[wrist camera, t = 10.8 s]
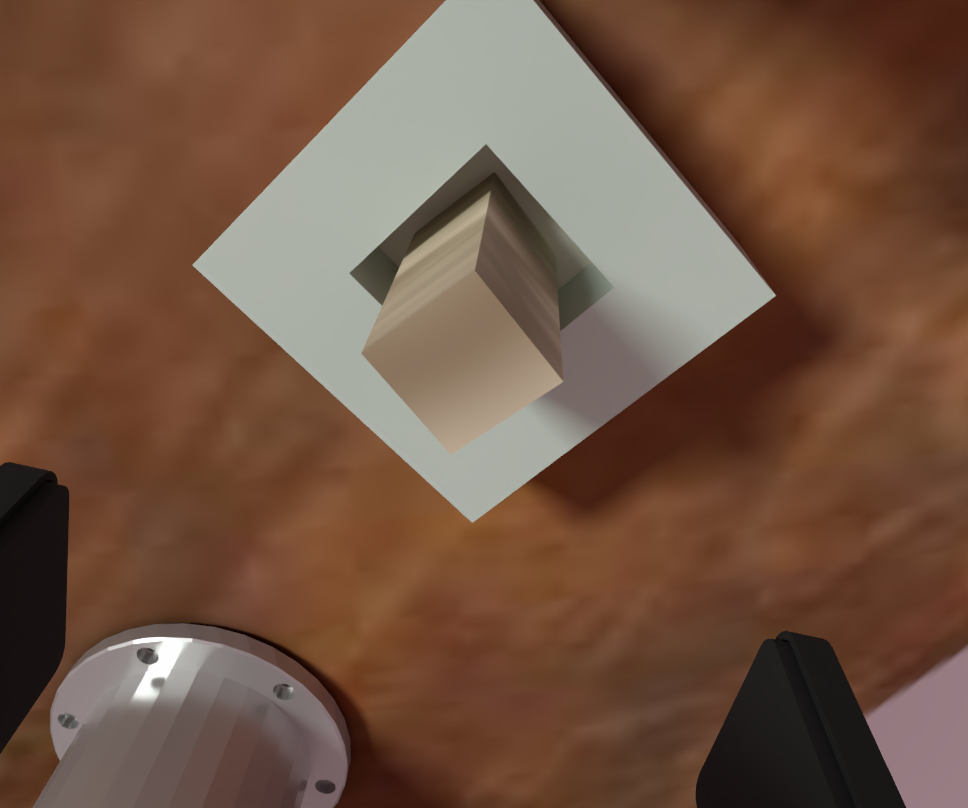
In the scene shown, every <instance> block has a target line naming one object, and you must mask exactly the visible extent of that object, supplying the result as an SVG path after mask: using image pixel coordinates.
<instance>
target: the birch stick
mask: <svg viewBox="0 0 968 808" xmlns="http://www.w3.org/2000/svg"><path fill="white" fill-rule="evenodd" d="M361 354H362V355H363V356H364V357H365V358H366V359H367V361H368V362H369V363H370V364H371V365H372V366H373V367H374V368H375V370H376V371H377V372H378V373H379V374H380V375H381V376H382V378H383V379H384V380H385V381H386V382H387V383H388V384H389V385H390V387H391V388H392V389H393V390H394V391H395V392H396V393H397V394H398V396H399V397H400V398H401V399H402V400H403V401H404V402H405V403H406V405H407V406H408V407H409V408H410V409H411V410H412V411H413V413H414V414H415V415H416V416H417V417H418V418H419V419H420V420H421V422H422V423H423V424H424V425H425V426H426V427H427V428H428V429H429V431H430V432H431V433H432V434H433V435H434V436H435V437H436V439H437V440H438V441H439V442H440V443H441V444H442V445H443V446H444V448H445V449H446V450H447V451H448V452H449V453H450V454H451V455H452V454H453V453H455V452H456V451H458V450H459V449H461V448H462V447H464V446H465V445H467V444H468V443H470V442H471V441H473V440H475V439H476V438H478V437H479V436H481V435H482V434H484V433H485V432H487V431H488V430H490V429H491V428H493V427H495V426H496V425H498V424H499V423H501V422H502V421H504V420H505V419H507V418H508V417H510V416H511V415H513V414H515V413H516V412H518V411H519V410H521V409H522V408H524V407H525V406H527V405H528V404H530V403H531V402H533V401H535V400H536V399H538V398H539V397H541V396H542V395H544V394H545V393H547V392H548V391H550V390H551V389H553V388H555V387H556V386H558V385H559V384H561V383H562V382H563V369H562V353H561V337H560V321H559V305H558V290H557V274H556V258H555V252H554V251H553V249H552V248H551V247H550V245H549V244H548V243H547V241H546V240H545V239H544V237H543V236H542V235H541V233H540V232H539V231H538V229H537V228H536V227H535V225H534V224H533V223H532V221H531V220H530V219H529V217H528V216H527V215H526V213H525V212H524V211H523V209H522V208H521V207H520V205H519V204H518V203H517V201H516V200H515V199H514V197H513V196H512V195H511V193H510V192H509V191H508V189H507V188H506V187H505V185H504V184H503V183H502V181H501V180H500V179H499V177H498V176H497V175H496V173H495V172H494V173H492V174H491V175H490V176H489V177H487V178H486V179H485V180H483V181H482V182H481V183H479V184H478V185H477V186H475V187H474V188H473V189H472V190H470V191H469V192H468V193H466V194H465V195H464V196H462V197H461V198H460V199H458V200H457V201H456V202H455V203H453V204H452V205H451V206H449V207H448V208H447V209H445V210H444V211H443V212H442V213H440V214H439V215H438V216H436V217H435V218H434V219H432V220H431V221H430V222H428V223H427V224H426V225H425V226H423V227H422V228H421V229H419V230H418V231H417V232H415V234H414V236H413V238H412V240H411V243H410V245H409V247H408V249H407V252H406V254H405V256H404V258H403V261H402V263H401V265H400V267H399V269H398V272H397V274H396V276H395V278H394V281H393V283H392V285H391V287H390V290H389V292H388V294H387V296H386V299H385V301H384V303H383V305H382V308H381V310H380V312H379V314H378V317H377V319H376V321H375V323H374V326H373V328H372V330H371V332H370V335H369V337H368V339H367V341H366V344H365V346H364V348H363V350H362V352H361Z"/></svg>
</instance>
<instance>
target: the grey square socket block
mask: <svg viewBox="0 0 968 808" xmlns="http://www.w3.org/2000/svg"><path fill="white" fill-rule="evenodd" d="M494 172H495V173H496V175H497V176H498V177H499V179H500V180H501V181H502V183H503V184H504V185H505V187H506V188H507V189H508V191H509V192H510V193H511V195H512V196H513V197H514V199H515V200H516V201H517V203H518V204H519V205H520V207H521V208H522V209H523V211H524V212H525V213H526V215H527V216H528V217H529V219H530V220H531V221H532V223H533V224H534V225H535V227H536V228H537V229H538V231H539V232H540V233H541V235H542V236H543V237H544V239H545V240H546V241H547V243H548V244H549V245H550V247H551V248H552V249H553V251H554V252H555V258H556V274H557V290H558V305H559V321H560V337H561V353H562V369H563V382H562V383H561V384H559V385H558V386H556V387H555V388H553V389H551V390H550V391H548V392H547V393H545V394H544V395H542V396H541V397H539V398H538V399H536V400H535V401H533V402H531V403H530V404H528V405H527V406H525V407H524V408H522V409H521V410H519V411H518V412H516V413H515V414H513V415H511V416H510V417H508V418H507V419H505V420H504V421H502V422H501V423H499V424H498V425H496V426H495V427H493V428H491V429H490V430H488V431H487V432H485V433H484V434H482V435H481V436H479V437H478V438H476V439H475V440H473V441H471V442H470V443H468V444H467V445H465V446H464V447H462V448H461V449H459V450H458V451H456V452H455V453H453V454H452V455H451V454H450V453H449V452H448V451H447V450H446V449H445V448H444V446H443V445H442V444H441V443H440V442H439V441H438V440H437V439H436V437H435V436H434V435H433V434H432V433H431V432H430V431H429V429H428V428H427V427H426V426H425V425H424V424H423V423H422V422H421V420H420V419H419V418H418V417H417V416H416V415H415V414H414V413H413V411H412V410H411V409H410V408H409V407H408V406H407V405H406V403H405V402H404V401H403V400H402V399H401V398H400V397H399V396H398V394H397V393H396V392H395V391H394V390H393V389H392V388H391V387H390V385H389V384H388V383H387V382H386V381H385V380H384V379H383V378H382V376H381V375H380V374H379V373H378V372H377V371H376V370H375V368H374V367H373V366H372V365H371V364H370V363H369V362H368V361H367V359H366V358H365V357H364V356H363V355H362V354H361V352H362V350H363V348H364V346H365V344H366V341H367V339H368V337H369V335H370V332H371V330H372V328H373V326H374V323H375V321H376V319H377V317H378V314H379V312H380V310H381V308H382V305H383V303H384V301H385V299H386V296H387V294H388V292H389V290H390V287H391V285H392V283H393V281H394V278H395V276H396V274H397V272H398V269H399V267H400V265H401V263H402V261H403V258H404V256H405V254H406V252H407V249H408V247H409V245H410V243H411V240H412V238H413V236H414V234H415V232H417V231H418V230H419V229H421V228H422V227H423V226H425V225H426V224H427V223H428V222H430V221H431V220H432V219H434V218H435V217H436V216H438V215H439V214H440V213H442V212H443V211H444V210H445V209H447V208H448V207H449V206H451V205H452V204H453V203H455V202H456V201H457V200H458V199H460V198H461V197H462V196H464V195H465V194H466V193H468V192H469V191H470V190H472V189H473V188H474V187H475V186H477V185H478V184H479V183H481V182H482V181H483V180H485V179H486V178H487V177H489V176H490V175H491V174H492V173H494ZM193 266H194V267H195V268H196V269H197V270H198V271H199V272H200V273H201V274H202V275H203V276H205V277H206V278H207V279H208V280H209V281H210V282H211V283H212V284H213V285H214V286H215V287H217V288H218V289H219V290H220V291H221V292H222V293H223V294H224V295H225V296H226V297H227V298H228V299H230V300H231V301H232V302H233V303H234V304H235V305H236V306H237V307H238V308H239V309H240V310H242V311H243V312H244V313H245V314H246V315H247V316H248V317H249V318H250V319H251V320H252V321H253V322H255V323H256V324H257V325H258V326H259V327H260V328H261V329H262V330H263V331H264V332H265V333H267V334H268V335H269V336H270V337H271V338H272V339H273V340H274V341H275V342H276V343H277V344H278V345H280V346H281V347H282V348H283V349H284V350H285V351H286V352H287V353H288V354H289V355H290V356H292V357H293V358H294V359H295V360H296V361H297V362H298V363H299V364H300V365H301V366H302V367H303V368H305V369H306V370H307V371H308V372H309V373H310V374H311V375H312V376H313V377H314V378H315V379H317V380H318V381H319V382H320V383H321V384H322V385H323V386H324V387H325V388H326V389H327V390H329V391H330V392H331V393H332V394H333V395H334V396H335V397H336V398H337V399H338V400H339V401H340V402H342V403H343V404H344V405H345V406H346V407H347V408H348V409H349V410H350V411H351V412H352V413H354V414H355V415H356V416H357V417H358V418H359V419H360V420H361V421H362V422H363V423H364V424H365V425H367V426H368V427H369V428H370V429H371V430H372V431H373V432H374V433H375V434H376V435H377V436H379V437H380V438H381V439H382V440H383V441H384V442H385V443H386V444H387V445H388V446H389V447H390V448H392V449H393V450H394V451H395V452H396V453H397V454H398V455H399V456H400V457H401V458H402V459H404V460H405V461H406V462H407V463H408V464H409V465H410V466H411V467H412V468H413V469H414V470H415V471H417V472H418V473H419V474H420V475H421V476H422V477H423V478H424V479H425V480H426V481H427V482H429V483H430V484H431V485H432V486H433V487H434V488H435V489H436V490H437V491H438V492H439V493H440V494H442V495H443V496H444V497H445V498H446V499H447V500H448V501H449V502H450V503H451V504H452V505H454V506H455V507H456V508H457V509H458V510H459V511H460V512H461V513H462V514H463V515H464V516H465V517H467V518H468V519H469V520H470V521H471V522H472V523H473V522H474V521H475V520H477V519H478V518H479V517H481V516H482V515H483V514H485V513H486V512H487V511H489V510H490V509H491V508H493V507H494V506H495V505H497V504H498V503H499V502H501V501H502V500H504V499H505V498H506V497H508V496H509V495H510V494H512V493H513V492H514V491H516V490H517V489H518V488H520V487H521V486H522V485H524V484H525V483H526V482H528V481H529V480H530V479H532V478H533V477H534V476H536V475H537V474H538V473H540V472H541V471H542V470H544V469H545V468H546V467H548V466H549V465H550V464H552V463H553V462H554V461H556V460H557V459H558V458H560V457H561V456H562V455H564V454H565V453H566V452H568V451H569V450H570V449H572V448H573V447H574V446H576V445H577V444H578V443H580V442H581V441H582V440H584V439H585V438H586V437H588V436H589V435H590V434H592V433H593V432H594V431H596V430H597V429H598V428H600V427H601V426H602V425H604V424H605V423H606V422H608V421H609V420H610V419H612V418H613V417H615V416H616V415H617V414H619V413H620V412H621V411H623V410H624V409H625V408H627V407H628V406H629V405H631V404H632V403H633V402H635V401H636V400H637V399H639V398H640V397H641V396H643V395H644V394H645V393H647V392H648V391H649V390H651V389H652V388H653V387H655V386H656V385H657V384H659V383H660V382H661V381H663V380H664V379H665V378H667V377H668V376H669V375H671V374H672V373H673V372H675V371H676V370H677V369H679V368H680V367H681V366H683V365H684V364H685V363H687V362H688V361H689V360H691V359H692V358H693V357H695V356H696V355H697V354H699V353H700V352H701V351H703V350H704V349H705V348H707V347H708V346H709V345H711V344H712V343H713V342H715V341H716V340H717V339H719V338H720V337H721V336H723V335H724V334H725V333H727V332H728V331H730V330H731V329H732V328H734V327H735V326H736V325H738V324H739V323H740V322H742V321H743V320H744V319H746V318H747V317H748V316H750V315H751V314H752V313H754V312H755V311H756V310H758V309H759V308H760V307H762V306H763V305H764V304H766V303H767V302H768V301H770V300H771V299H772V298H774V297H775V296H776V295H775V293H774V292H773V291H772V289H771V288H770V286H769V285H768V284H767V282H766V281H765V279H764V278H763V277H762V275H761V274H760V272H759V271H758V270H757V268H756V267H755V265H754V264H753V262H752V261H751V260H750V258H749V257H748V255H747V254H746V253H745V251H744V250H743V248H742V247H741V246H740V244H739V243H738V242H737V241H736V240H735V238H734V237H733V236H732V235H731V233H730V232H729V231H728V230H727V229H726V227H725V226H724V225H723V224H722V222H721V221H720V220H719V219H718V218H717V216H716V215H715V214H714V213H713V211H712V210H711V209H710V208H709V207H708V205H707V204H706V203H705V202H704V201H703V199H702V198H701V197H700V196H699V194H698V193H697V192H696V191H695V190H694V188H693V187H692V186H691V185H690V183H689V182H688V181H687V180H686V179H685V177H684V176H683V175H682V174H681V172H680V171H679V170H678V169H677V168H676V166H675V165H674V164H673V163H672V161H671V160H670V159H669V158H668V157H667V155H666V154H665V153H664V152H663V150H662V149H661V148H660V147H659V146H658V144H657V143H656V142H655V141H654V139H653V138H652V137H651V136H650V135H649V133H648V132H647V131H646V130H645V129H644V127H643V126H642V125H641V124H640V122H639V121H638V120H637V119H636V118H635V116H634V115H633V114H632V113H631V111H630V110H629V109H628V108H627V107H626V105H625V104H624V103H623V102H622V100H621V99H620V98H619V97H618V96H617V94H616V93H615V92H614V91H613V89H612V88H611V87H610V86H609V85H608V83H607V82H606V81H605V80H604V78H603V77H602V76H601V75H600V74H599V72H598V71H597V70H596V69H595V67H594V66H593V65H592V64H591V63H590V61H589V60H588V59H587V58H586V56H585V55H584V54H583V53H582V52H581V50H580V49H579V48H578V47H577V46H576V44H575V43H574V42H573V41H572V39H571V38H570V37H569V36H568V35H567V33H566V32H565V31H564V30H563V28H562V27H561V26H560V25H559V24H558V22H557V21H556V20H555V19H554V17H553V16H552V15H551V14H550V13H549V11H548V10H547V9H546V8H545V6H544V5H543V4H542V3H541V2H540V0H446V1H445V2H444V3H443V4H442V5H441V6H440V7H439V8H438V9H437V10H436V11H435V12H434V14H433V15H432V16H431V17H430V18H429V19H428V20H427V21H426V22H425V23H424V24H423V25H422V26H421V27H420V28H419V29H418V30H417V31H416V32H415V33H414V34H413V35H412V36H411V38H410V39H409V40H408V41H407V42H406V43H405V44H404V45H403V46H402V47H401V48H400V49H399V50H398V51H397V52H396V53H395V54H394V55H393V56H392V57H391V58H390V59H389V60H388V62H387V63H386V64H385V65H384V66H383V67H382V68H381V69H380V70H379V71H378V72H377V73H376V74H375V75H374V76H373V77H372V78H371V79H370V80H369V81H368V82H367V83H366V84H365V86H364V87H363V88H362V89H361V90H360V91H359V92H358V93H357V94H356V95H355V96H354V97H353V98H352V99H351V100H350V101H349V102H348V103H347V104H346V105H345V106H344V107H343V108H342V110H341V111H340V112H339V113H338V114H337V115H336V116H335V117H334V118H333V119H332V120H331V121H330V122H329V123H328V124H327V125H326V126H325V127H324V128H323V129H322V130H321V131H320V132H319V134H318V135H317V136H316V137H315V138H314V139H313V140H312V141H311V142H310V143H309V144H308V145H307V146H306V147H305V148H304V149H303V150H302V151H301V152H300V153H299V154H298V155H297V156H296V158H295V159H294V160H293V161H292V162H291V163H290V164H289V165H288V166H287V167H286V168H285V169H284V170H283V171H282V172H281V173H280V174H279V175H278V176H277V177H276V178H275V179H274V180H273V182H272V183H271V184H270V185H269V186H268V187H267V188H266V189H265V190H264V191H263V192H262V193H261V194H260V195H259V196H258V197H257V198H256V199H255V200H254V201H253V202H252V203H251V204H250V206H249V207H248V208H247V209H246V210H245V211H244V212H243V213H242V214H241V215H240V216H239V217H238V218H237V219H236V220H235V221H234V222H233V223H232V224H231V225H230V226H229V227H228V228H227V230H226V231H225V232H224V233H223V234H222V235H221V236H220V237H219V238H218V239H217V240H216V241H215V242H214V243H213V244H212V245H211V246H210V247H209V248H208V249H207V250H206V251H205V252H204V254H203V255H202V256H201V257H200V258H199V259H198V260H197V261H196V262H195V263H194V264H193Z"/></svg>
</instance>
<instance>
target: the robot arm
mask: <svg viewBox="0 0 968 808" xmlns="http://www.w3.org/2000/svg"><path fill="white" fill-rule="evenodd" d="M68 522H69V491H68V488H67V487H66V486H63V485H58V483H57V477H56V475H55V473H53V472H52V471H47V470H43V469H38V468H34V467H29V466H24V465H20V464H15V463H11V462H8V463H4V464H3V465H1V466H0V753H1V752H2V750H3V749H4V747H5V746H6V744H7V743H8V741H9V740H10V739H11V737H12V736H13V734H14V733H15V731H16V730H17V728H18V727H19V725H20V724H21V722H22V721H23V719H24V718H25V716H26V715H27V714H28V712H29V711H30V709H31V708H32V706H33V705H34V703H35V702H36V700H37V699H38V697H39V696H40V694H41V693H42V691H43V690H44V689H45V687H46V686H47V684H48V683H49V681H50V680H51V678H52V677H53V675H54V674H55V672H56V670H57V669H58V666H59V664H60V662H61V659H62V656H63V652H64V648H65V631H66V595H67V559H68ZM50 732H51V736H52V740H53V745H54V749H55V752H56V754H57V756H58V758H59V760H60V762H59V764H58V766H57V767H56V769H55V771H54V772H53V774H52V776H51V778H50V779H49V781H48V783H47V784H46V786H45V788H44V789H43V791H42V793H41V794H40V796H39V798H38V799H37V801H36V803H35V804H34V806H33V808H334V807H335V806H336V804H337V803H338V801H339V799H340V796H341V794H342V792H343V789H344V787H345V784H346V780H347V775H348V770H349V766H350V761H351V740H350V736H349V733H348V729H347V725H346V722H345V719H344V717H343V715H342V713H341V711H340V709H339V708H338V706H337V704H336V702H335V700H334V699H333V697H332V696H331V695H330V694H329V693H328V691H327V690H326V689H325V688H324V687H323V685H322V684H321V683H320V682H319V681H318V679H316V678H315V677H314V676H313V675H312V674H311V673H309V672H308V671H307V670H306V669H305V668H304V667H302V666H301V665H300V664H299V663H298V662H296V661H295V660H293V659H291V658H290V657H288V656H286V655H285V654H283V653H282V652H280V651H278V650H277V649H275V648H273V647H272V646H269V645H267V644H265V643H262V642H260V641H258V640H255V639H253V638H250V637H248V636H246V635H243V634H239V633H235V632H232V631H228V630H224V629H221V628H217V627H211V626H203V625H194V624H186V623H179V624H154V625H149V626H144V627H139V628H134V629H129V630H126V631H124V632H121V633H119V634H116V635H113V636H111V637H108V638H106V639H104V640H103V641H101V642H100V643H98V644H97V645H95V646H94V647H92V648H91V649H89V650H88V651H86V652H85V653H84V654H83V655H82V657H81V658H80V659H79V660H78V661H77V662H76V663H75V664H74V665H73V667H72V668H71V669H70V671H69V673H68V674H67V676H66V677H65V679H64V681H63V682H62V684H61V685H60V687H59V688H58V690H57V692H56V695H55V698H54V701H53V704H52V707H51V717H50ZM696 804H697V808H906V806H905V804H904V802H903V800H902V798H901V795H900V793H899V791H898V789H897V787H896V785H895V783H894V780H893V778H892V776H891V774H890V772H889V769H888V768H887V765H886V763H885V761H884V759H883V757H882V755H881V752H880V750H879V748H878V746H877V744H876V741H875V739H874V737H873V735H872V733H871V731H870V728H869V726H868V724H867V722H866V720H865V718H864V715H863V713H862V711H861V709H860V707H859V704H858V702H857V700H856V698H855V696H854V694H853V691H852V689H851V687H850V685H849V683H848V681H847V678H846V676H845V674H844V672H843V670H842V668H841V665H840V663H839V661H838V659H837V657H836V655H835V652H834V650H833V648H832V646H831V645H830V643H829V642H828V641H826V640H824V639H821V638H816V637H811V636H807V635H802V634H798V633H793V632H788V631H784V632H781V633H780V634H779V635H778V636H777V637H776V639H775V640H774V639H766V640H765V641H764V642H763V644H762V645H761V647H760V649H759V651H758V653H757V655H756V657H755V659H754V662H753V664H752V666H751V668H750V670H749V672H748V674H747V676H746V678H745V680H744V682H743V684H742V686H741V689H740V691H739V693H738V695H737V697H736V699H735V701H734V703H733V705H732V707H731V709H730V711H729V713H728V716H727V718H726V720H725V722H724V724H723V726H722V728H721V730H720V732H719V734H718V736H717V738H716V740H715V743H714V745H713V747H712V749H711V751H710V753H709V755H708V757H707V759H706V761H705V763H704V765H703V767H702V769H701V772H700V774H699V777H698V780H697V785H696Z"/></svg>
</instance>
